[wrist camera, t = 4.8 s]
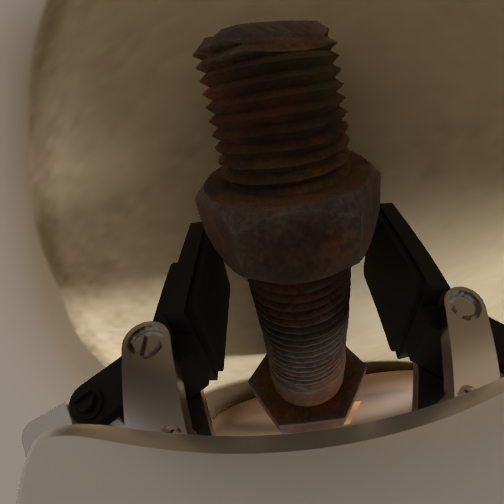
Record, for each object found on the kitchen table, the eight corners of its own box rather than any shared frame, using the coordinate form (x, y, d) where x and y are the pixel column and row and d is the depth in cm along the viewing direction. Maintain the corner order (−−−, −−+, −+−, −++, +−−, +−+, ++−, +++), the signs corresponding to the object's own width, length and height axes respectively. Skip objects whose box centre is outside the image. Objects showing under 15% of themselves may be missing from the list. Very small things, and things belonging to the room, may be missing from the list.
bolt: (281, 41, 8) (315, 332, 16) (134, 69, 6) (241, 375, 15) (435, 24, 3) (381, 398, 12) (191, -5, 2) (298, 457, 11)
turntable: (172, 386, 17) (159, 477, 12) (490, 340, 15) (518, 412, 10) (236, 455, 31) (235, 497, 26) (405, 433, 29) (412, 473, 24)
